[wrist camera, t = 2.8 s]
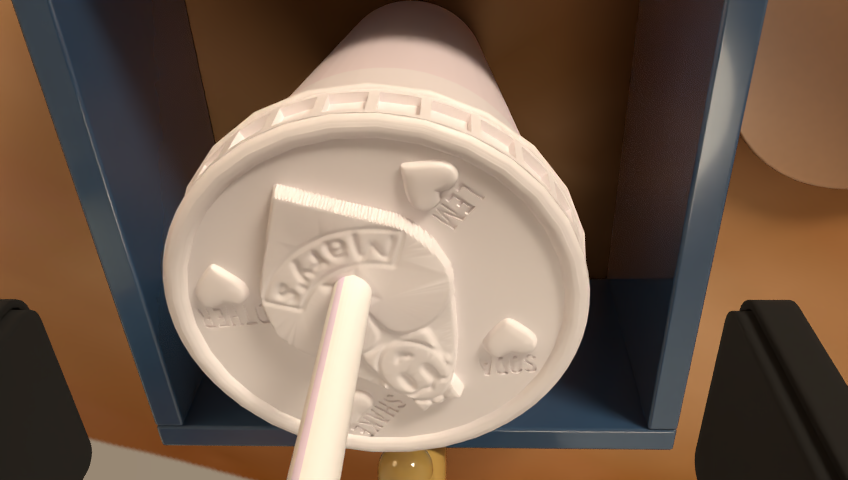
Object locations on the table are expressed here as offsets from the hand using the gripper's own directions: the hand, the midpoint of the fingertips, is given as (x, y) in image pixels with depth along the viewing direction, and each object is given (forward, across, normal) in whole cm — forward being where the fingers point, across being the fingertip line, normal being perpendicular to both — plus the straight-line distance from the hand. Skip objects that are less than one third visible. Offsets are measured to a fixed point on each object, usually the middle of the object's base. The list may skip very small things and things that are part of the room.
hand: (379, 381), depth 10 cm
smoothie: (+11, 0, -1) cm, 11 cm away
